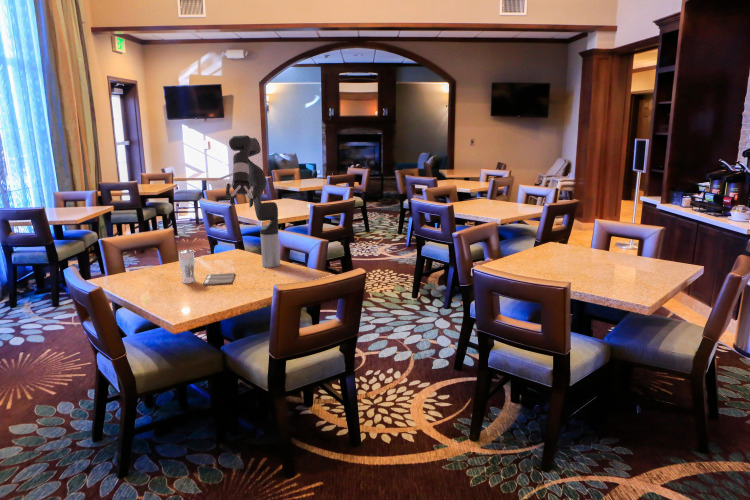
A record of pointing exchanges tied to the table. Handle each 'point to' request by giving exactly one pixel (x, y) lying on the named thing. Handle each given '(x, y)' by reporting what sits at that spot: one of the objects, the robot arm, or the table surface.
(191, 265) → the beer glass
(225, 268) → the table surface
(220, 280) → the board
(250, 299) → the table surface
